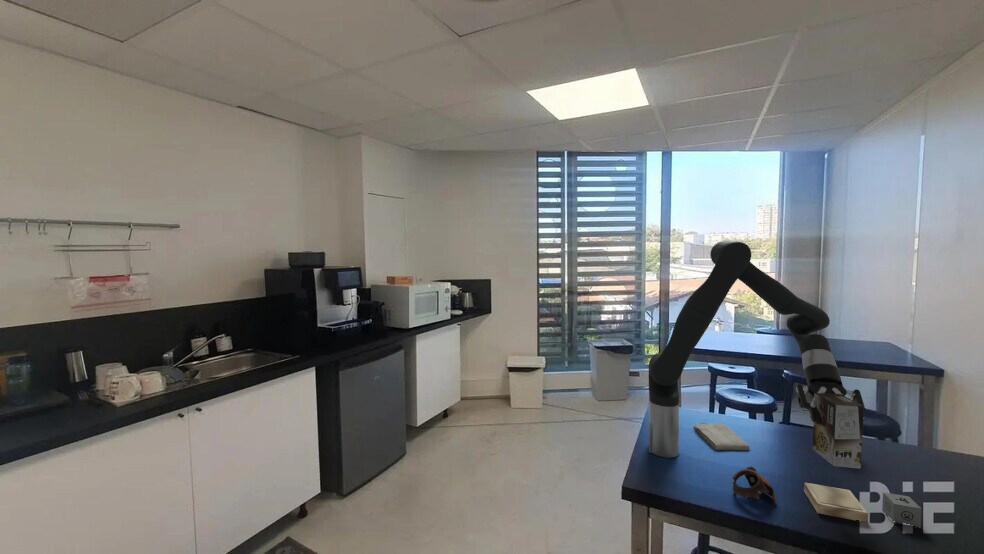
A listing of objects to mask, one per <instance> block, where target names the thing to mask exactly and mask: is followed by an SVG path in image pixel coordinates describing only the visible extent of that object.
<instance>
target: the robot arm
mask: <svg viewBox="0 0 984 554" xmlns="http://www.w3.org/2000/svg"><path fill="white" fill-rule="evenodd" d="M710 259H711V262H712V263H713V265H714V267H713V268H712V270H711V272H710V274H709V275H708V277H707V278H706V279H705V281H704V282H703V283H702V284H701V285H700V286H699V287H698V288H697V289H696V290H695V291H694V292H693V293H692V294H691V295H690V296H689V297H687V298H688V299H687V300H685V303H684V304H683V306H682V308H681V310H680V311H679V313H678V315H677V317H676V320H675V323H674V325H673V326H674V327H673V329H672V332H671V335H670V338H669V341H668V342H667V344H666V346H665V347H664V349H663V350H662V352H658V353H655V354H654V355H652V356H651V358H650V359H649V361H648V394H649V395H648V396H649V397H648V398H649V399H648V401H649V402H648V403H649V405H648V406H649V407H648V408H649V409H648V412H649V413H648V414H649V415H648V453H649V454H653V455H655V456H658V457H662V458H668V459H669V458H676V457H678V455H679V452H680V451H679V450H680V449H679V447H680V446H679V445H680V444H679V441H680V440H679V439H680V438H679V437H680V436H679V434H680V430H679V427H680V424H679V423H680V395H679V393H680V392H679V387H678V385H679V380H680V377H682V373H683V371H684V368H685V367H686V364H687V362H688V360H689V358H690V355H691V354H692V352H693V350H694V349H695V347H696V346H697V345H698V343H699V342H700V340H701V338H702V337H703V336H704V334H705V332H706V331H707V329H708V328H709V326H710V324H711V323H712V322H713V320H714V318H715V316H716V314H717V312H718V311H719V309H720V307H721V305H722V304H723V302H724V300H726V299H725V298H726V297H727V296H728V293H729V292H730V290H731V289H732V288H733V285H735V283H736V282H737V280H739V281H740V282H742V283H743V284H744V285H745V286H746V287H748V288H749V289H751V291H753V293H755V294H756V295H757V296H758V297H759V298H761V300H763V301H764V302H765V303H766V304H767V305H768V306H769V307H771V308H772V309H773V310H774V311H776V312H777V313H778V314H779V315H781V316H788V315H790V316H788V317H787V320H786V327H787V328H788V330H789V332H790V333H791V335H792V336H793V337H794V339H795V341H796V342H797V343H796V344H797V345H798V347H799V351H800V355H801V361H802V369H803V370H804V375H805V379H806V382H807V385H806V386H803V385H802V384H801V383H800V384H799V383H798V384H797V385H796V387H795V389H794V391H795V393H796V398H797V402H798V405H799V407H800V408H801V409H806V410H808V413H809V416H810V420H811V422H814V423H815V424H818V425H819V423H820V417H819V413H818V410H817V408H816V402H815V398H814V393H835V394H841V395H843V396H845V397H846V396H847V397H848V398H849V399H851V400H853V401H855V402H857V403H859V404H861V405H863V406H864V411H865V410H866V407H865V403H864V400H863V398H862V393H861V391H860V390H859V389H854V390H850V389H849V390H848V389H846V388H845V387H844V385H843V382H842V378H841V375H840V371H839V369H838V366H837V363H836V360H835V357H834V355H833V353H832V350H831V347H830V343H829V340H828V339H827V337H825V336H824V335H822V334H820V333H819V334H818V333H816V332H819V331H821V330H824V329H826V328H828V327H829V325H830V321H831V320H830V317H829V315H828V314H827V313H826V311H824V310H823V309H822V308H820V307H818V306H817V305H815V304H812V303H810V302H808V301H806V300H804V299H802V298H800V297H798V296H797V295H796V294H794V292H792V290H790V289H788V288H787V287H786V286H785V285H784V284H782V283H781V282H779V281H778V280H777V279H775V278H773V277H772V276H770V275H769V274H767V273H766V272H764V271H762V270H761V269H760V268H758V267H757V266H756V265H755V264H753V263H752V261H751V259H752V250H751V248H750V246H749V245H748V244H746V243H745V242H742V241H737V240H721V241H719V242H717V243H715V244H714V245H713V246H712V248H711V250H710ZM807 392H808V393H809V394H810V395H811V396H812V397H813V399H812V401H811V403H810V402H808V401H807V398H806V397H807V396H806V393H807Z"/></svg>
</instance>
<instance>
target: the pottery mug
mask: <svg viewBox="0 0 984 554" xmlns="http://www.w3.org/2000/svg"><path fill="white" fill-rule="evenodd" d="M742 476H744V477H745V479H746V480H747V483H748V484H749V487H743V486H740V485H738V484H737V480H738V479H739V478H741V477H742ZM732 480H733V482H732V491H733V493H734V494H735V495H737V496H739V497H742V498H747V499H748V498H749V499H750V498H751V499H752V498H754V499H757V500H760V495H759V492H760V493H762V494H765V495H768V496H770V497H772V501H773V504H774V505H777V500H776V499H777V498H776V494H775V492H774V489H773V488H774V487H772V484H771V483H770V482H769V481H768V479H767V478H766V477H764V476H763V475H761V474H759V473H758V472H757V469H756V468H755V467H754V466H748V467H746V469H745V468H744V469H741V470H739V471H737V472H736V473H734V474H733V476H732Z"/></svg>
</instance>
